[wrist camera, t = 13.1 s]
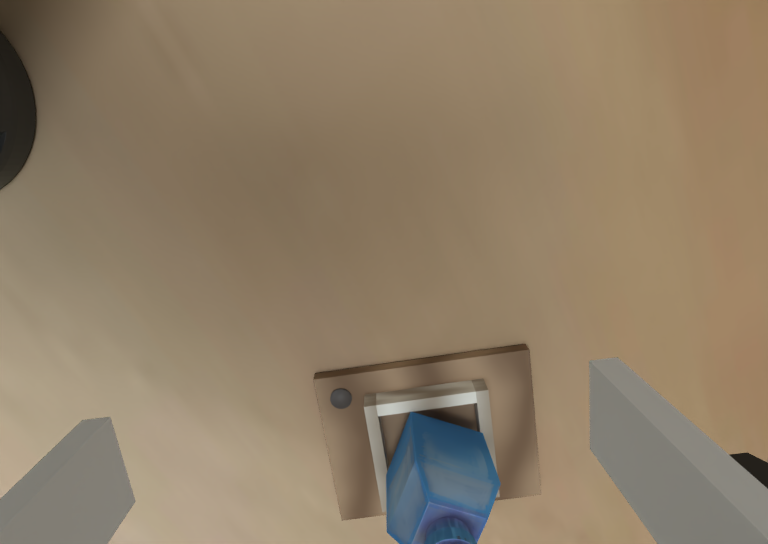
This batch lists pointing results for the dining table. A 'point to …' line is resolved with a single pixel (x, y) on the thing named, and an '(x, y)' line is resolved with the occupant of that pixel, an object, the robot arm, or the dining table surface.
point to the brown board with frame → (433, 399)
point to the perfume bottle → (439, 484)
